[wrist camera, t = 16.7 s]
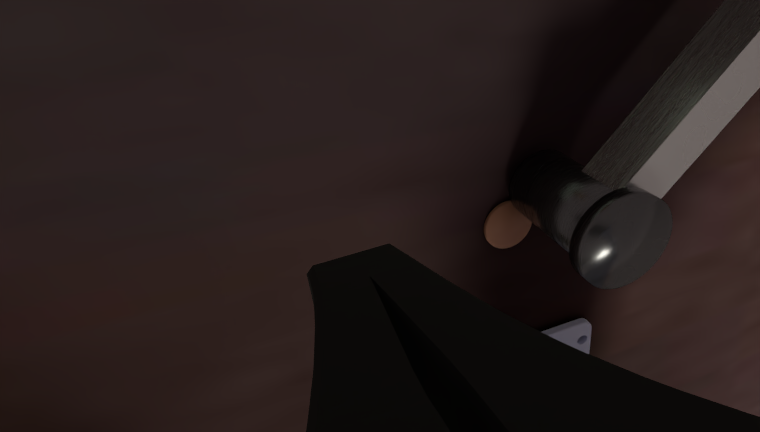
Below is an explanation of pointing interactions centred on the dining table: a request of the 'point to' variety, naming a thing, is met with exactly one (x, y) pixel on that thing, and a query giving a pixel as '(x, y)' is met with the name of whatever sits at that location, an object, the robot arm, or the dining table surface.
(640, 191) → the crank lever
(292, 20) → the dining table surface
